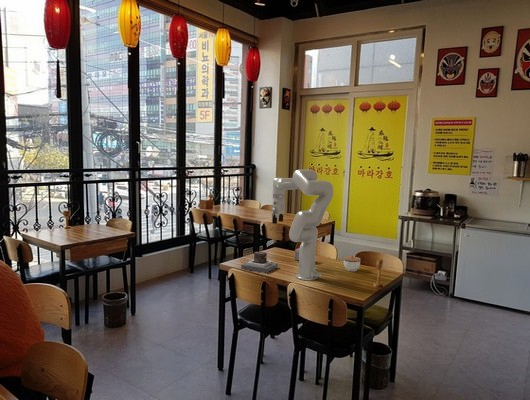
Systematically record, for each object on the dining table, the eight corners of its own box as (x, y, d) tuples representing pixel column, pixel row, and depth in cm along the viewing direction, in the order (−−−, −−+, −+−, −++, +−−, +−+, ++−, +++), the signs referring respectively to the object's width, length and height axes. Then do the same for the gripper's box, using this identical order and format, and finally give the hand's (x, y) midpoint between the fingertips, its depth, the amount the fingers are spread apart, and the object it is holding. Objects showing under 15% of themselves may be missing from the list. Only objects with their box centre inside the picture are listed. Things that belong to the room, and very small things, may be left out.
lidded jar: (339, 269, 260) (340, 255, 259) (349, 267, 267) (349, 253, 266) (354, 273, 252) (354, 258, 251) (363, 270, 260) (364, 256, 259)
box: (259, 265, 254) (259, 254, 253) (253, 263, 258) (253, 252, 258) (266, 264, 257) (267, 252, 257) (261, 262, 262) (261, 251, 261)
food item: (315, 262, 277) (316, 248, 276) (308, 264, 271) (308, 250, 271) (300, 258, 287) (300, 245, 286) (292, 260, 281) (293, 246, 280)
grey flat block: (277, 267, 261) (277, 260, 261) (266, 273, 247) (266, 266, 246) (253, 263, 269) (253, 257, 269) (241, 269, 255) (241, 262, 255)
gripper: (278, 197, 255) (277, 224, 257) (288, 196, 271) (288, 221, 272) (267, 197, 259) (266, 223, 260) (278, 195, 274) (278, 220, 276)
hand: (277, 222), depth 266 cm, fingers open, 9 cm apart
